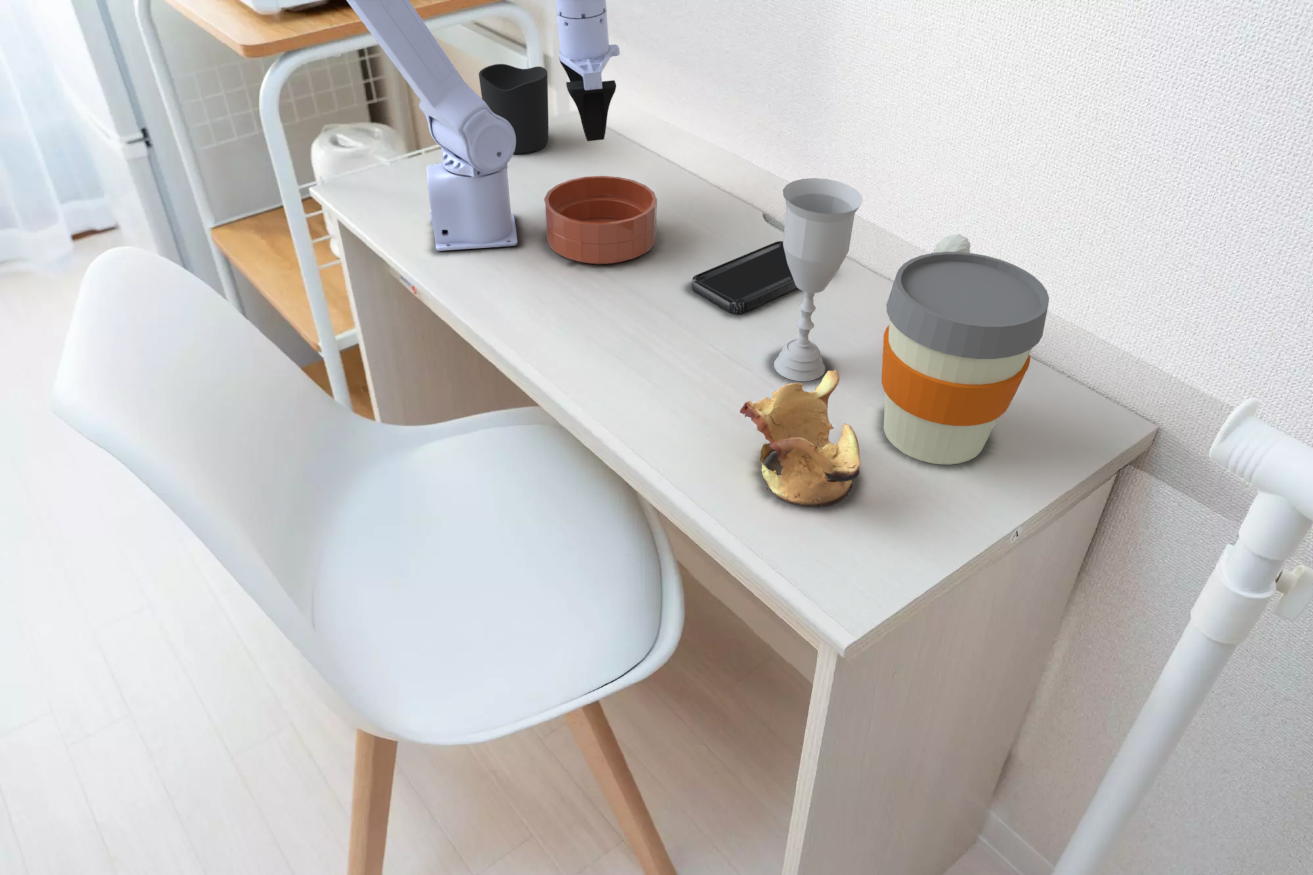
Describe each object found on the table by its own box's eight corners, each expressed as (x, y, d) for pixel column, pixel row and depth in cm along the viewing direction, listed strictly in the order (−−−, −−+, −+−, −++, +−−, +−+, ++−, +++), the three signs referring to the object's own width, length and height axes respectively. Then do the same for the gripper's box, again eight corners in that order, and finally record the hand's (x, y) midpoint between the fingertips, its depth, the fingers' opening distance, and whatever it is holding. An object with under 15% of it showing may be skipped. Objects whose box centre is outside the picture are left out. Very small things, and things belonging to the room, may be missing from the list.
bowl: (552, 271, 107) (549, 227, 103) (543, 221, 117) (540, 179, 113) (664, 264, 108) (665, 220, 105) (646, 214, 118) (646, 173, 115)
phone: (687, 278, 103) (782, 239, 111) (687, 287, 104) (781, 247, 112) (737, 307, 99) (832, 264, 106) (736, 316, 99) (831, 273, 107)
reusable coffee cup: (1034, 462, 82) (1086, 314, 72) (906, 490, 79) (944, 339, 69) (956, 382, 91) (994, 242, 81) (839, 404, 88) (864, 261, 78)
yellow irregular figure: (718, 465, 81) (724, 386, 76) (794, 420, 86) (805, 343, 81) (824, 541, 74) (838, 460, 69) (900, 487, 79) (919, 408, 74)
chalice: (752, 353, 94) (768, 184, 83) (812, 340, 96) (836, 173, 85) (785, 393, 89) (807, 219, 78) (848, 379, 91) (878, 207, 80)
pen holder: (528, 126, 141) (522, 58, 135) (564, 145, 135) (560, 75, 129) (473, 141, 136) (466, 70, 130) (508, 161, 131) (502, 89, 124)
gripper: (625, 28, 102) (632, 147, 111) (607, -11, 112) (615, 100, 121) (560, 34, 101) (573, 154, 110) (549, -6, 112) (561, 106, 121)
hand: (591, 126), depth 116 cm, fingers open, 7 cm apart
